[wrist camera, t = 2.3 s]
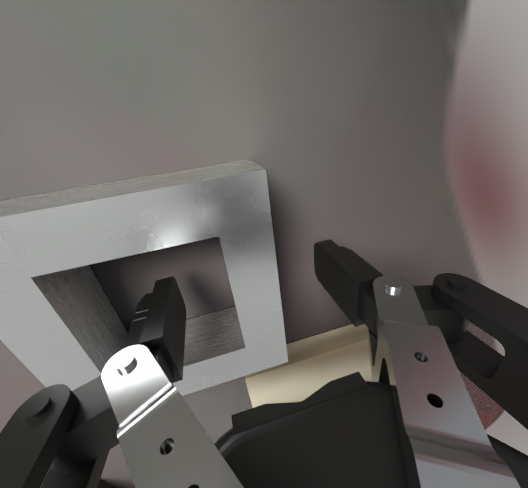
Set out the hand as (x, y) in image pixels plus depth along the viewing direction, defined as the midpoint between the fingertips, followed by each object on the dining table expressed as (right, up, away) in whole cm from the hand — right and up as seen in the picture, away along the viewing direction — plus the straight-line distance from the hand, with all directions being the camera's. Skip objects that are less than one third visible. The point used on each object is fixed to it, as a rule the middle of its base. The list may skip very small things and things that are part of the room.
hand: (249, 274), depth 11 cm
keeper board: (+8, -10, +9) cm, 16 cm away
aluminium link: (-4, 0, 0) cm, 4 cm away
